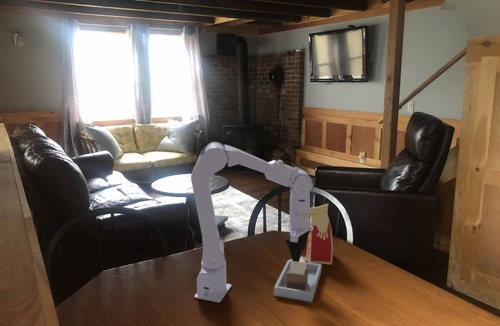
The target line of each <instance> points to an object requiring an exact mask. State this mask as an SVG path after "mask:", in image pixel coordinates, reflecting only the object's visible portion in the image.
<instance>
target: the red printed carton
mask: <svg viewBox="0 0 500 326" xmlns="http://www.w3.org/2000/svg"><path fill="white" fill-rule="evenodd" d="M328 210H329V203H326V204H322V205H320V206H315V207H310V214H309V226H313V230H312V231H310V232H309V235H308V238H307V244H306V253H305V256H306V261H307V262H308V263H315V264H322V265H331V266H332V265H333V252H334V245H333V243H334V242H333V231H332V226H331V223H330V217H329V215H328Z"/></svg>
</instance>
